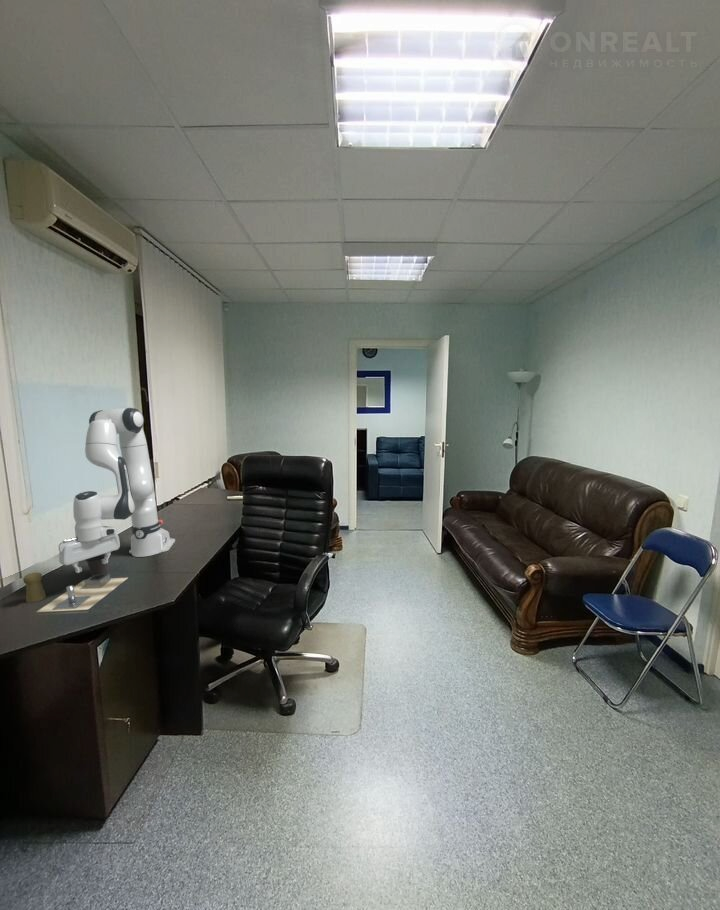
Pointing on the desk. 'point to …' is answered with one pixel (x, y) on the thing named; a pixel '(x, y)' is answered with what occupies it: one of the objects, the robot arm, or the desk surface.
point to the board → (81, 591)
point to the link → (97, 581)
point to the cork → (34, 587)
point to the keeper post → (71, 600)
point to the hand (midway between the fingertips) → (92, 567)
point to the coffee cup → (97, 565)
